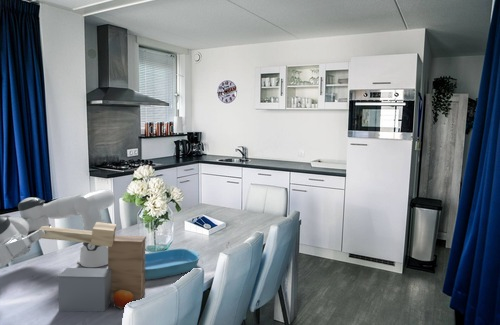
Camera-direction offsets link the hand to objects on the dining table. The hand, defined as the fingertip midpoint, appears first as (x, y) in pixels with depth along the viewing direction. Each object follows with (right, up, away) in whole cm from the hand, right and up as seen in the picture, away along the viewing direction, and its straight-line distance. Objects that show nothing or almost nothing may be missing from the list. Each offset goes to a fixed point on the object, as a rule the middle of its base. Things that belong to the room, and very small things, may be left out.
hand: (48, 229), depth 144 cm
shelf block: (+26, -32, +15) cm, 44 cm away
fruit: (+28, -33, +6) cm, 44 cm away
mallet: (+10, -5, +3) cm, 11 cm away
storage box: (+13, -32, +5) cm, 35 cm away
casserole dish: (+36, -30, +44) cm, 64 cm away
